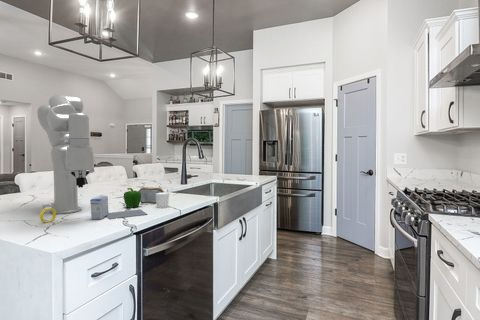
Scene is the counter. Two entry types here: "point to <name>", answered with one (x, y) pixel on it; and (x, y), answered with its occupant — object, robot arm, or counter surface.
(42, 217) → the yellow ring
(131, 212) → the mat
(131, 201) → the bell pepper
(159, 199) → the shot glass
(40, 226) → the counter surface
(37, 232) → the counter surface
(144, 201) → the grey curved block
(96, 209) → the medicine box
